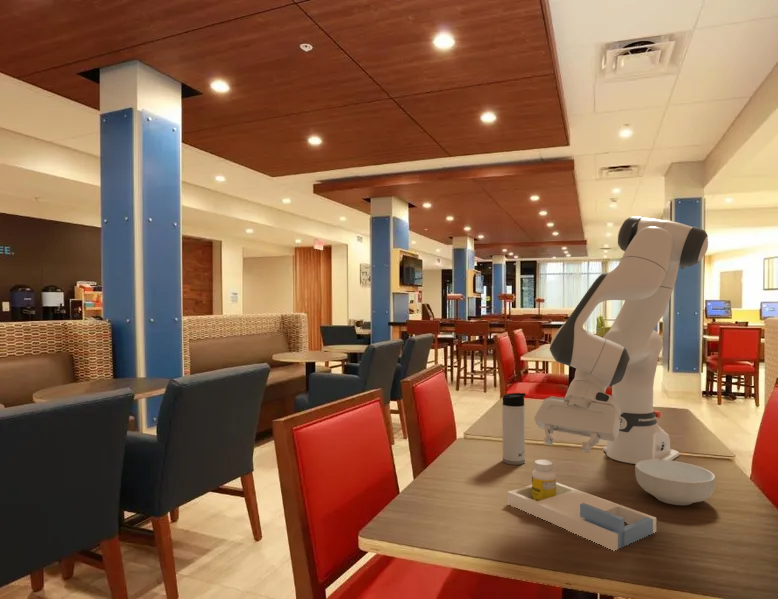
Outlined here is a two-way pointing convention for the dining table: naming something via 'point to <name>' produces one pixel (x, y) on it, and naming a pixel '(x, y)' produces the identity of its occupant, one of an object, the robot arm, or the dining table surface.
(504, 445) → the travel mug
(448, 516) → the dining table surface
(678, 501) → the cereal bowl
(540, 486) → the supplement bottle
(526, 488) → the pocket rack
